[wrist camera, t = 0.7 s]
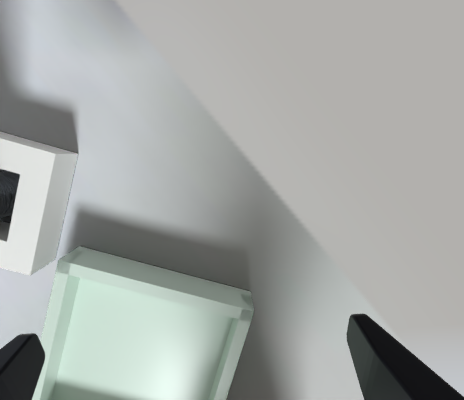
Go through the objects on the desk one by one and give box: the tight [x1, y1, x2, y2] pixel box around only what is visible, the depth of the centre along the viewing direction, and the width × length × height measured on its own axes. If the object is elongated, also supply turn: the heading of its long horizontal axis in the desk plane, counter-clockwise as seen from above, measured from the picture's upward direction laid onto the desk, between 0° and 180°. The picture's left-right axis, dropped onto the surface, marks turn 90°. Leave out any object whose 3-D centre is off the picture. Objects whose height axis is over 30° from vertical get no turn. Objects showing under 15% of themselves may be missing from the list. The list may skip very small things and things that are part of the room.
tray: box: [32, 246, 254, 400], centre depth 23 cm, size 13×13×3 cm
